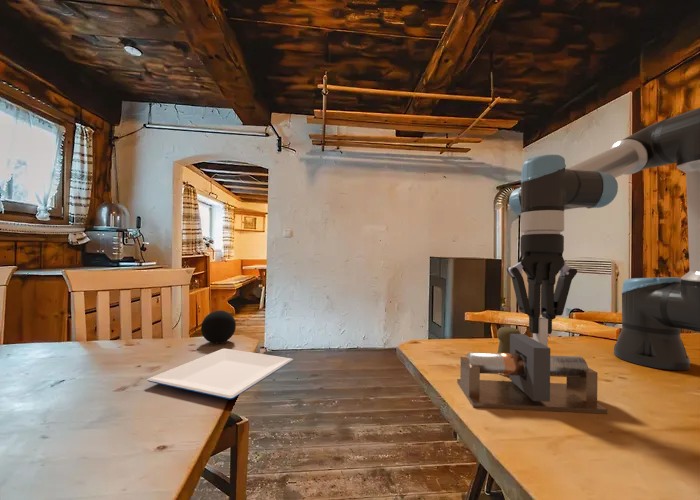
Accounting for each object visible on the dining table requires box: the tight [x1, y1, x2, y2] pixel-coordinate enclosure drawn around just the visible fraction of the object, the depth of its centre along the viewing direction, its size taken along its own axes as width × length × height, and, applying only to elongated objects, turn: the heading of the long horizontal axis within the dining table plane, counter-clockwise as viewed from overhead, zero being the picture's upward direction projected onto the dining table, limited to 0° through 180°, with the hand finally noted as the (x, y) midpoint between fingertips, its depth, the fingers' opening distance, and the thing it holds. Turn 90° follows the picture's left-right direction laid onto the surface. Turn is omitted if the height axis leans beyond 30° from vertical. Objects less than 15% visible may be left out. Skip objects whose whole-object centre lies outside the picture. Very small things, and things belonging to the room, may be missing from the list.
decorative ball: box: [200, 310, 237, 344], centre depth 96 cm, size 10×10×10 cm
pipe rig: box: [456, 352, 608, 415], centre depth 63 cm, size 24×11×9 cm, turn 86°
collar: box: [508, 333, 551, 402], centre depth 63 cm, size 3×10×10 cm, turn 176°
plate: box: [146, 348, 294, 400], centre depth 71 cm, size 22×22×2 cm
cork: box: [496, 326, 522, 378], centre depth 75 cm, size 6×6×11 cm
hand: (540, 349), depth 63 cm, fingers closed
